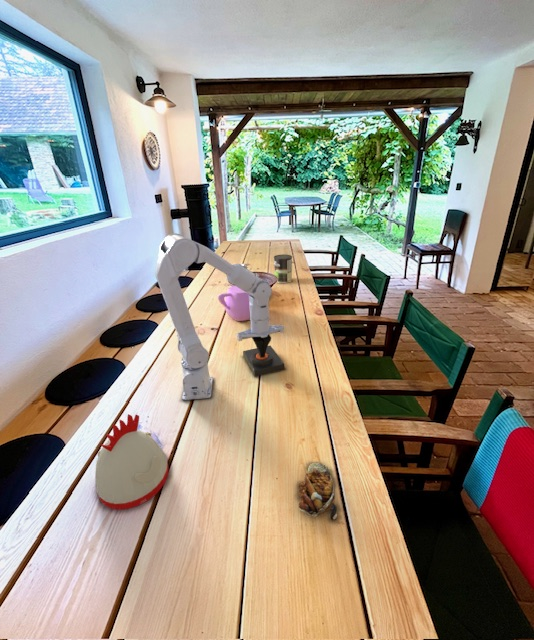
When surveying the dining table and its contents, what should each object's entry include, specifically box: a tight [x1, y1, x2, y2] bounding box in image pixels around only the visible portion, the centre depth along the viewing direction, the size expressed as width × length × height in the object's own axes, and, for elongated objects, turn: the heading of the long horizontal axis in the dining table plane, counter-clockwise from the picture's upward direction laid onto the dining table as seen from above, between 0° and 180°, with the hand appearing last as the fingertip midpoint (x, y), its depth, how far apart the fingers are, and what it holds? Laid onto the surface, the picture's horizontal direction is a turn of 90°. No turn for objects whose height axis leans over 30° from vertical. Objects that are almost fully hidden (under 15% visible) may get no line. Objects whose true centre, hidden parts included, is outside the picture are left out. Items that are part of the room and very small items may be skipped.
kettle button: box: [256, 353, 268, 360], centre depth 103 cm, size 4×4×2 cm
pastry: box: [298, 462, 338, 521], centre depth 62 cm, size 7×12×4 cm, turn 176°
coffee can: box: [273, 254, 293, 284], centre depth 183 cm, size 10×10×14 cm
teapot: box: [217, 285, 251, 322], centre depth 136 cm, size 23×21×15 cm
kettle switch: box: [242, 345, 286, 377], centre depth 105 cm, size 13×10×4 cm
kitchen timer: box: [94, 414, 170, 511], centre depth 64 cm, size 14×14×15 cm
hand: (261, 355), depth 103 cm, fingers closed, pressing on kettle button
